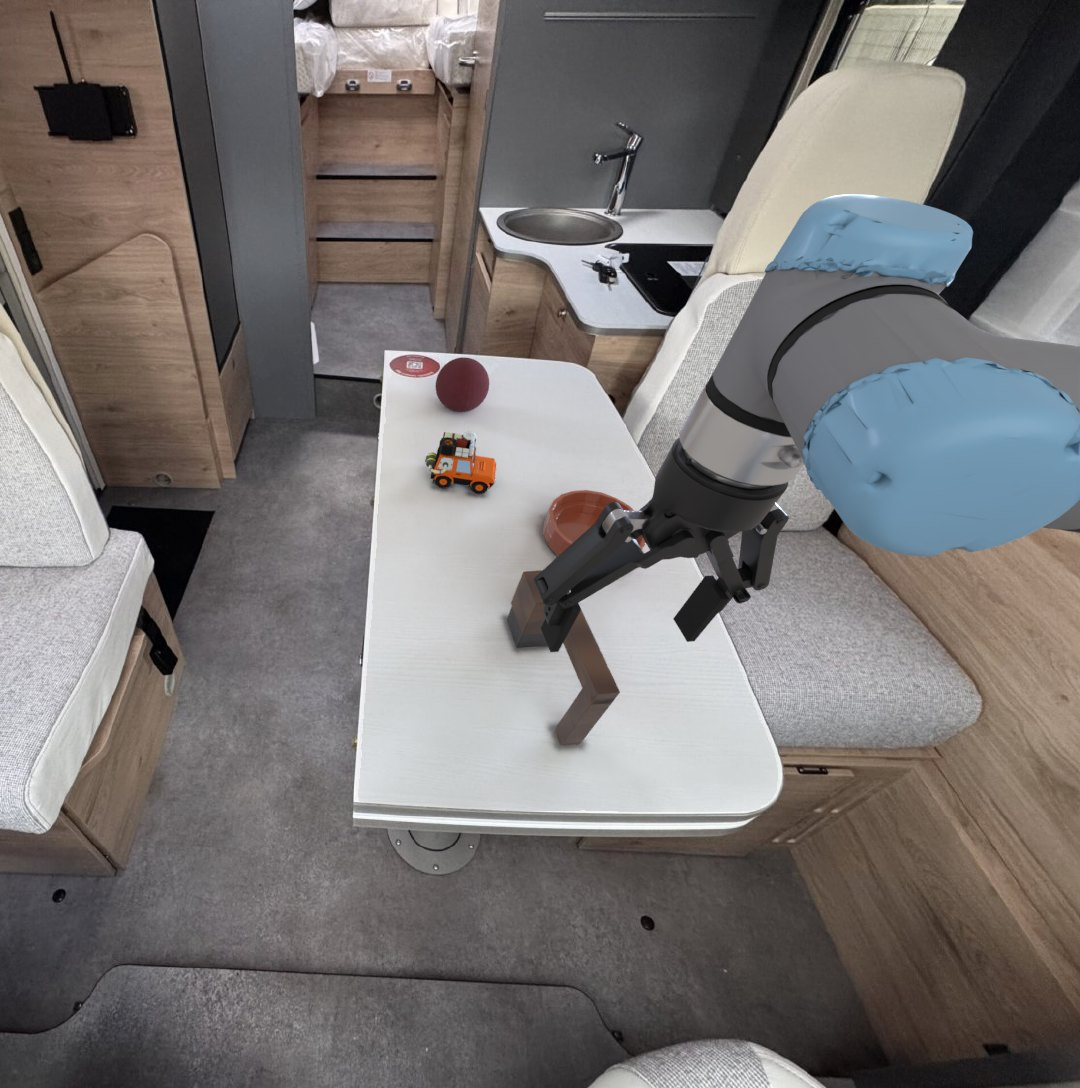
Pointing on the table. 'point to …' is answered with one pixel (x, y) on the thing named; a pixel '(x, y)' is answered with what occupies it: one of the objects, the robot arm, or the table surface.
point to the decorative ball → (462, 384)
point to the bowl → (576, 517)
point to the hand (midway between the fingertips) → (617, 635)
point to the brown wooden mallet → (582, 654)
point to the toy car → (461, 463)
